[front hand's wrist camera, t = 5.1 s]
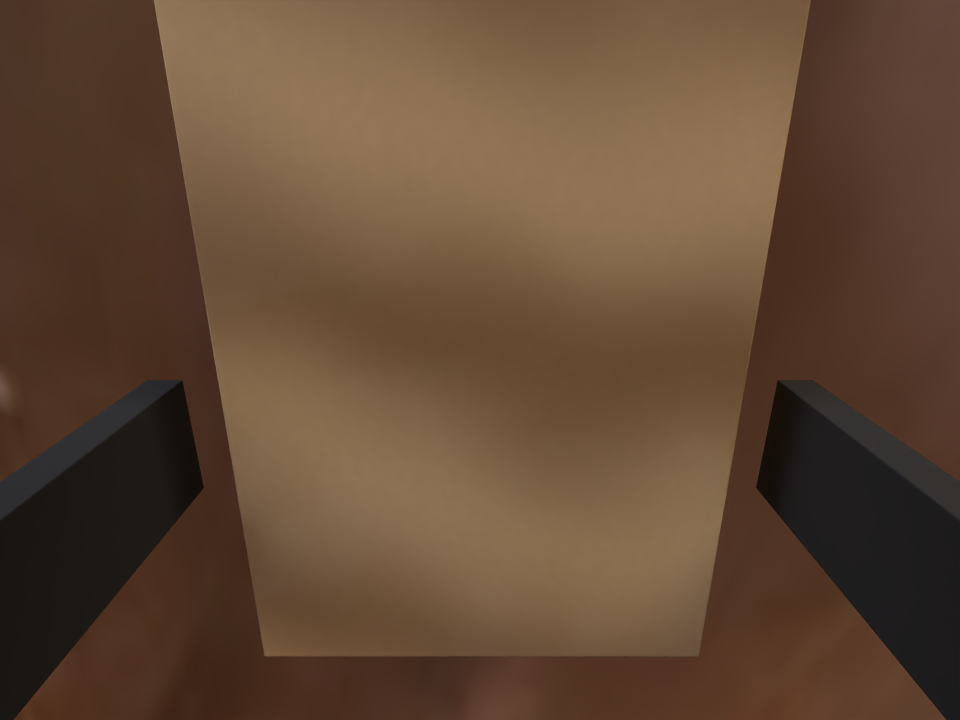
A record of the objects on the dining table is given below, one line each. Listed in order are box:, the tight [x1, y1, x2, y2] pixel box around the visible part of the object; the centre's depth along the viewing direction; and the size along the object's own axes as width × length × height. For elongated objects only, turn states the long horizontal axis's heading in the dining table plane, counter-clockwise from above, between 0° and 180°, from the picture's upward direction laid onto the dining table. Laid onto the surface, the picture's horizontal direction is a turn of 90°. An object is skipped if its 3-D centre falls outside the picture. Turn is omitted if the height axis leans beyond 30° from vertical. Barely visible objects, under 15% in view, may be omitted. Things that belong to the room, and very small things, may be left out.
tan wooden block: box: [154, 0, 811, 657], centre depth 14 cm, size 16×10×9 cm, turn 0°
